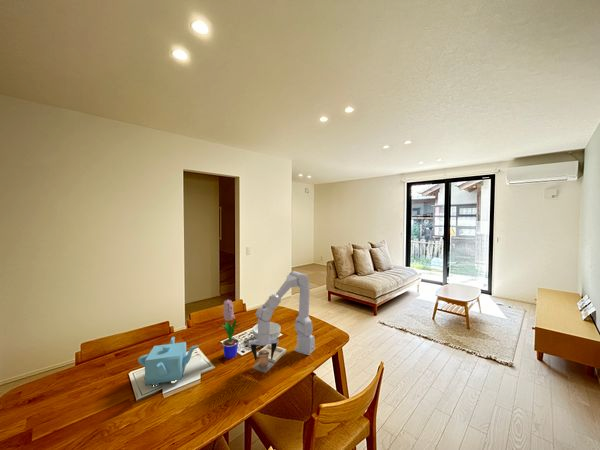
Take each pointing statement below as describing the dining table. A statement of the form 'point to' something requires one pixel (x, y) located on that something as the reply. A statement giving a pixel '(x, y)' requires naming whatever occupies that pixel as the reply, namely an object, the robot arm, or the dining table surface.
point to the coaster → (263, 369)
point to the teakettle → (165, 362)
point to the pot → (263, 358)
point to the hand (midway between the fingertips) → (263, 358)
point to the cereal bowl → (273, 330)
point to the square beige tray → (277, 353)
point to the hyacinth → (229, 331)
